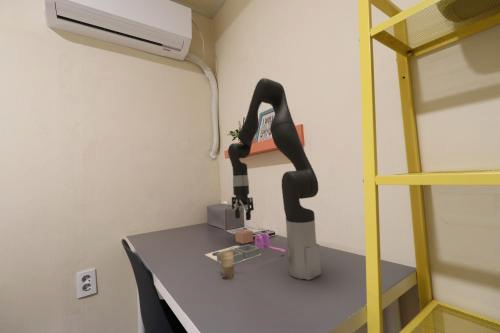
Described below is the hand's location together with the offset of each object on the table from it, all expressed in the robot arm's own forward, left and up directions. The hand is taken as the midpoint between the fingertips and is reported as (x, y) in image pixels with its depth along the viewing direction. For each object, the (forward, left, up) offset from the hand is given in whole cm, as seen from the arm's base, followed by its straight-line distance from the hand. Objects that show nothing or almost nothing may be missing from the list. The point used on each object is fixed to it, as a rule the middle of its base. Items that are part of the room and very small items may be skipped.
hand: (242, 219), depth 111 cm
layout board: (-11, +14, -12) cm, 22 cm away
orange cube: (0, 0, -12) cm, 12 cm away
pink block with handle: (-17, -1, -12) cm, 21 cm away
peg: (-24, +25, -12) cm, 37 cm away
